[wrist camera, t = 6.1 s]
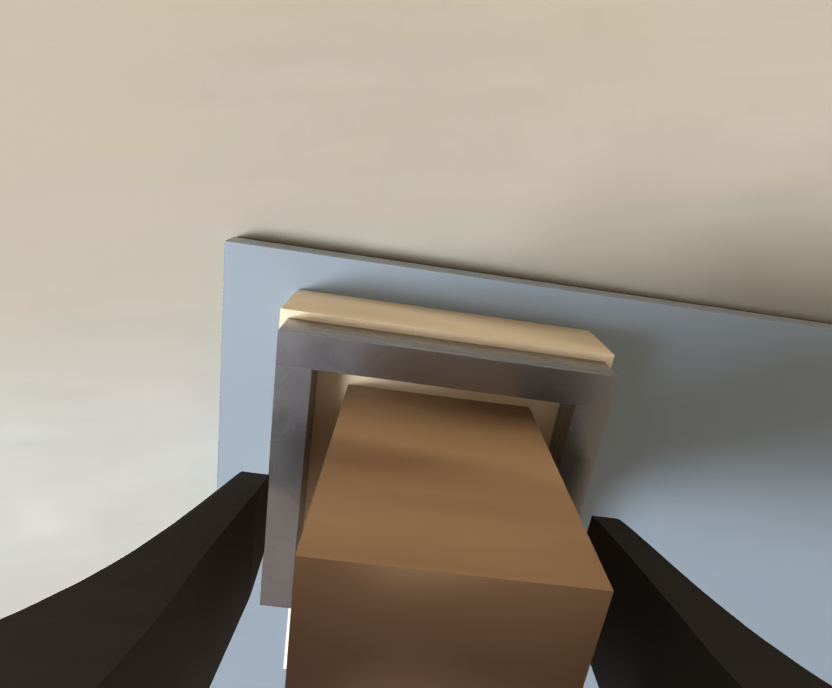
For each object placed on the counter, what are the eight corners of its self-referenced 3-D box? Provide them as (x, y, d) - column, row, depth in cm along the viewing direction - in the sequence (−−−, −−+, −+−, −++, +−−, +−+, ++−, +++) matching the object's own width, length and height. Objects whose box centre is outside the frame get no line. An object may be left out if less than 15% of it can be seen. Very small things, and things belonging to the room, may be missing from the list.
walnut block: (496, 554, 15) (546, 803, 9) (332, 536, 14) (277, 778, 9) (529, 407, 13) (613, 591, 8) (348, 384, 13) (294, 556, 7)
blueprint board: (788, 731, 21) (866, 851, 17) (218, 669, 20) (174, 782, 16) (988, 346, 16) (1158, 401, 12) (234, 237, 15) (175, 261, 11)
